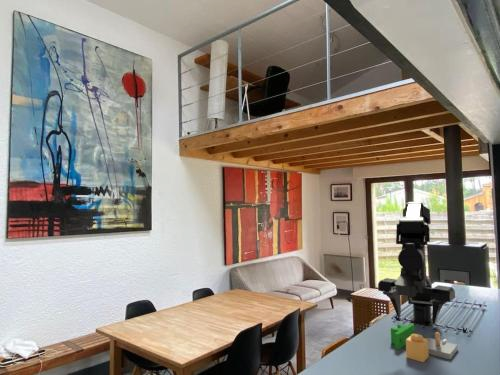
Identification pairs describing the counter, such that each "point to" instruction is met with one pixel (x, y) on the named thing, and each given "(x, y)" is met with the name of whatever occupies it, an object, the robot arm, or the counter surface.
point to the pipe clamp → (401, 334)
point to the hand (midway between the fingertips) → (416, 320)
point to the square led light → (417, 347)
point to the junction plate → (441, 347)
